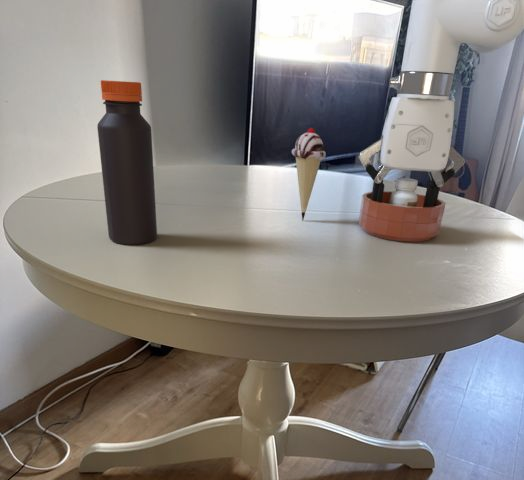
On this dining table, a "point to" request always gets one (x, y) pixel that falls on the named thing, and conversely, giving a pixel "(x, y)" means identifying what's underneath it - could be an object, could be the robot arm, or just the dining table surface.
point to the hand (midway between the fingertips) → (402, 208)
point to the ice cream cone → (307, 164)
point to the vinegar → (127, 165)
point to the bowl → (400, 219)
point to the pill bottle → (404, 192)
